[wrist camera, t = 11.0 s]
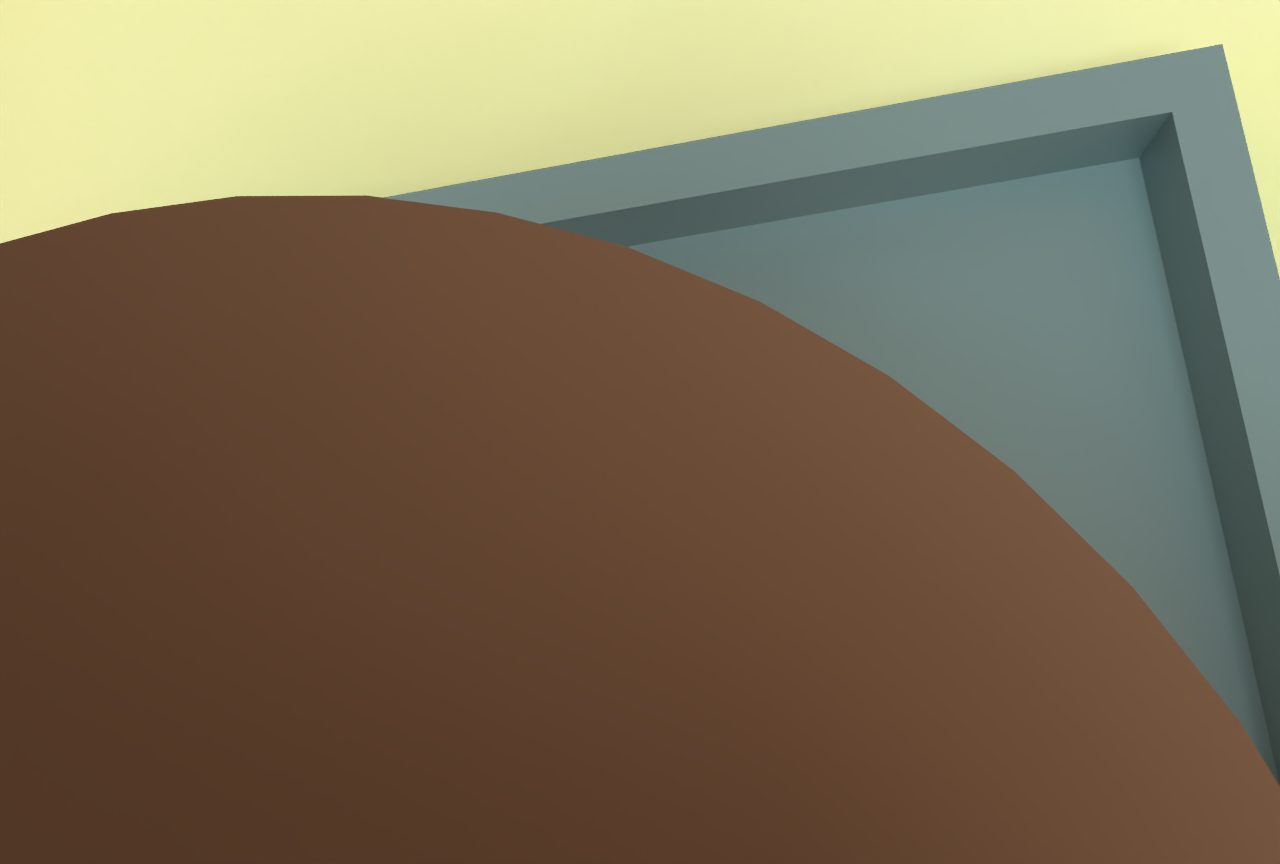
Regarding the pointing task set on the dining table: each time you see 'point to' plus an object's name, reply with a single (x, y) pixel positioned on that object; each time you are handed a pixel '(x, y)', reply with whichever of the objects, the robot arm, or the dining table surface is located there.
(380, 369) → the pepper mill
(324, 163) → the dining table surface
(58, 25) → the dining table surface
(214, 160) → the dining table surface
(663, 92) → the dining table surface
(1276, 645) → the tray
